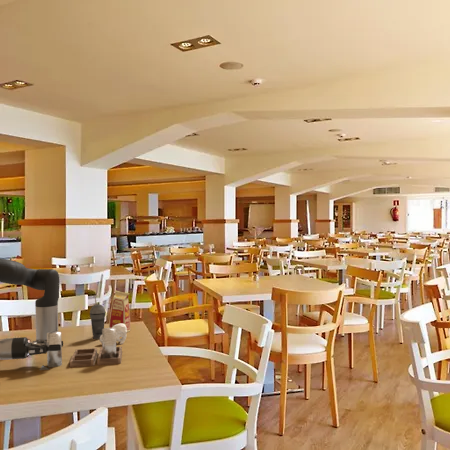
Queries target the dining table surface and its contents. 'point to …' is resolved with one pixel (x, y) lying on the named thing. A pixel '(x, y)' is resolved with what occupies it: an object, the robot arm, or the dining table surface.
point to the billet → (109, 342)
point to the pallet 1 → (83, 357)
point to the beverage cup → (97, 319)
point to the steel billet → (54, 356)
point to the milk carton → (120, 310)
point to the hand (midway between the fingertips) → (61, 345)
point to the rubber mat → (44, 368)
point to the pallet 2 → (110, 360)
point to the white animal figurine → (119, 333)
